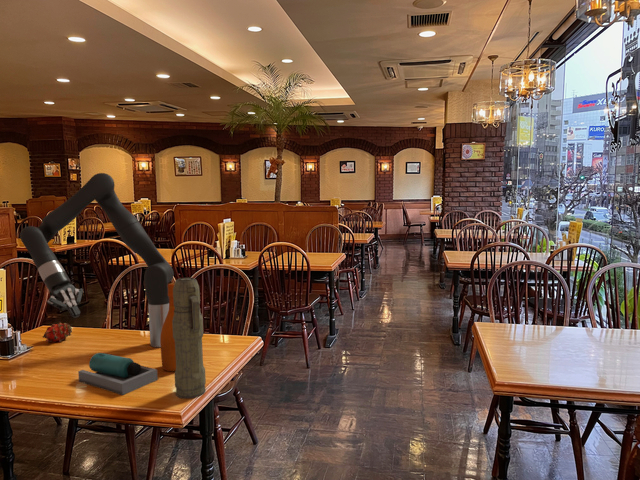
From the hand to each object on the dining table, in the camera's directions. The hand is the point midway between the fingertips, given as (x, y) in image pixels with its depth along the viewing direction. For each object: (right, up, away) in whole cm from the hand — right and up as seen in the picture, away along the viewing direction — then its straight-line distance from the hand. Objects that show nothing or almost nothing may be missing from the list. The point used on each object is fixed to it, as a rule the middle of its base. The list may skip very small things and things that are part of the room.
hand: (77, 316), depth 160 cm
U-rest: (+21, -19, -14) cm, 31 cm away
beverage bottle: (+10, -14, -7) cm, 18 cm away
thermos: (+48, -19, -24) cm, 57 cm away
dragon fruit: (-24, -16, +30) cm, 42 cm away
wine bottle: (+36, -18, -3) cm, 40 cm away
